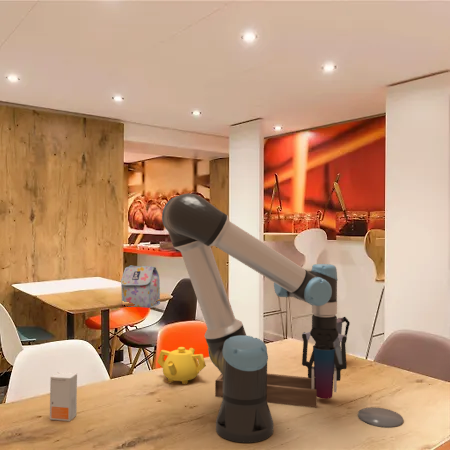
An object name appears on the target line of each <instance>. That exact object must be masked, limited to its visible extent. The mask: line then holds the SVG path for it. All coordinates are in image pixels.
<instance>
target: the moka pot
mask: <svg viewBox="0 0 450 450" xmlns="http://www.w3.org/2000/svg"><path fill="white" fill-rule="evenodd" d="M344 322H345V323H346V324H345V331H344V335H346V336H348V331H349V327H350V325H351V322H350V321H349V319H348V318H347V317H346V316H342V317H337V331H338V333H339V334H341V335H342V333H343V331H342V330H343V323H344ZM333 343H334V347H335V348H336V349H335V350H336V353H337V356H338V360H339V363H340V364H342V351H341V342H340V341H339V338H338V337H337V339H336V340H335V341H334V342H333ZM334 368H336V366H335V364H334Z"/></svg>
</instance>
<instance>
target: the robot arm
mask: <svg viewBox="0 0 450 450" xmlns="http://www.w3.org/2000/svg"><path fill="white" fill-rule="evenodd" d="M229 218H230V217H229V215H228V214H226V213H225V212H223V211H221V210H220V209H218V208H217V207H216V206H215V205H213V204H212V203H211V202H209V201H207V199H205V198H203V196H200V195H198V194H195V193H183V194H180V195H176V196H175V197H172V198H171V199H170V200H168V201H167V203H166V204H165V205H164V208H163V209H162V215H161V221H162V225H163V226H164V228H165V229H166V230H167V232H168V235H169V237H170V238H169V239H170V241H171V244H172V247H173V248H174V249H176V250H177V251H179V252H180V255H181V257H182V259H183V263H184V265H185V267H186V270H187V274H188V276H189V280H190V282H191V285H192V288H193V290H194V293H195V296H196V300H197V303H198V305H199V307H200V311H201V314H202V316H203V317H202V318H203V320H204V322H205V325H206V331H205V333H204V338H205V342H206V344H207V346H208V348H207V351H208V357H209V359H210V362H211V363H212V364H213V365H214V366H215V367H216V368H217V369H218V371H219V372H220V373H221V374H222V375H223V397H222V401H221V404H220V407H219V410H218V414H217V416H216V420H215V432H216V433H217V435H218V436H220V437H221V438H223V439H224V440H228V441H231V442H236V443H243V444H244V443H256V442H261V441H264V440H267V439H268V438H269V437H270V438H271V436H272V435H273V434H274V419H273V417H272V412H271V410H270V407H269V404H268V403H269V402H267V374H268V360H269V355H268V349H267V345H266V343H265V342H264V340H261V339H260V338H258V337H254V336H251V335H247V333H246V330H245V327H244V325H243V322H242V321H241V320H239V319H237V318H235V314H234V311H233V308H232V305H231V303H230V299H229V297H228V293H227V290H226V288H225V285H224V282H223V279H222V275H221V273H220V270H219V267H218V265H217V262H216V259H215V255H214V253H213V249H212V247H215V248H218V249H219V250H221V251H222V252H224V253H225V254H227V255H229V256H230V257H232V258H233V259H235V260H237V261H239V262H240V263H241V264H243V265H245V266H246V267H248V268H250V269H251V270H252V271H254V272H256V273H258V274H260V275H262V276H263V277H265V278H266V279H268V280H270V281H271V282H273V289H274V293H275V294H276V296H277V297H279V298H292V297H293V298H294V299H297V300H300V301H303V302H305V303H307V304H308V305H311V313H312V316H311V330H310V331H308V332H305V331H304V332H302V334H301V337H302V342H303V345H302V357H301V365H302V366H303V367H304V366H305V367H307V377H308V378H312V389H314V388H315V373H314V349H313V348H312V352H311V355H310V357H309V361H307V360H308V359H307V358H308V344H309V340H310V338H311V337H312V339H313V341H314V345H315V346H314V345H313V346H314V348H316V349H318V347H319V345H326V346H329V348H330V350H332V349H334V343H333V342H334V341H335V340H336V339H337V337H338V338H339V341H340V346H341V351H342V364H340V363H339V360H338V356H337V353H336V350H335V352H334V363H335V366H336V368H334V380H333V393H337V390H338V389H337V388H338V386H337V383H338V382H340V381H341V371H343V370H346V369H347V365H348V364H347V352H346V351H347V350H346V349H347V348H346V343H347V340H348V337H347V336H348V335H347V336H346V335H345V334H342V333H341V334H339V333H338V331H337V319H338V317H337V314H338V271H337V270H338V269H337V267H336V265H334V264H329V263H317V264H313V265H312V267H311V270H309V271H308V270H307V269H305V267H302V266H301V265H299V264H297V263H296V262H294V261H293V260H291V259H290V258H288V257H287V256H285V255H284V254H282V253H280V252H279V251H277V250H275V248H273V247H271V246H269V245H268V244H266V243H265V242H263V241H261V240H260V239H258V238H257V237H255V236H253V235H252V234H250V233H249V232H247V231H246V230H244V229H243V228H241V227H239V226H237V225H236V224H235V223H233V222H232V221H230V219H229ZM221 374H220V375H221ZM337 381H338V382H337Z"/></svg>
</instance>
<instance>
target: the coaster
mask: <svg viewBox="0 0 450 450" xmlns="http://www.w3.org/2000/svg"><path fill="white" fill-rule="evenodd" d="M357 417H358V419H360V421H362V422H363V423H365V424H367V425H370V426H374V427H377V428H378V427H379V428H395V427H399V426H402V425H403V423H404V418H403V416H402V414H400V413H398V412H397V411H393V410H391V409H387V408H383V407H376V406H375V407H372V406H371V407H364V408H361V409H360V410H359V411H358V412H357Z"/></svg>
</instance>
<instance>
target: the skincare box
mask: <svg viewBox="0 0 450 450" xmlns="http://www.w3.org/2000/svg"><path fill="white" fill-rule="evenodd" d="M49 385H50V390H49V391H50V392H49V394H50V395H49V420H53V421H64V422H71V421H72V420H73V419H74V418H75V417H76V416H77V403H78V402H77V401H78V400H77V396H78V395H77V394H78V389H77V387H78V373H76V372H75V373H73V372H58V371H57V372H56V373H55V374H52V375H51V376H50V382H49Z"/></svg>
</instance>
